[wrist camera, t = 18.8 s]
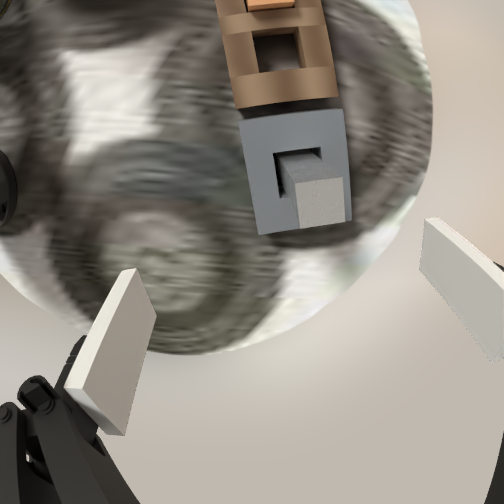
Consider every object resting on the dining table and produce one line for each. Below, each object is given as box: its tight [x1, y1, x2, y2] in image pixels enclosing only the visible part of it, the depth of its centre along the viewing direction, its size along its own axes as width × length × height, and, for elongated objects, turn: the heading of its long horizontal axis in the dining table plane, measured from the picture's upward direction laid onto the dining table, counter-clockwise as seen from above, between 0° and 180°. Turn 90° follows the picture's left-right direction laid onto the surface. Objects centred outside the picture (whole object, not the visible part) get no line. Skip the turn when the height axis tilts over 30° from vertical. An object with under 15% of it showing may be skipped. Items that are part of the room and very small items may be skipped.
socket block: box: [215, 0, 339, 109], centre depth 28 cm, size 12×20×4 cm, turn 10°
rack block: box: [238, 108, 352, 235], centre depth 37 cm, size 12×14×5 cm
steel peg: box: [276, 148, 345, 229], centre depth 32 cm, size 4×4×16 cm
